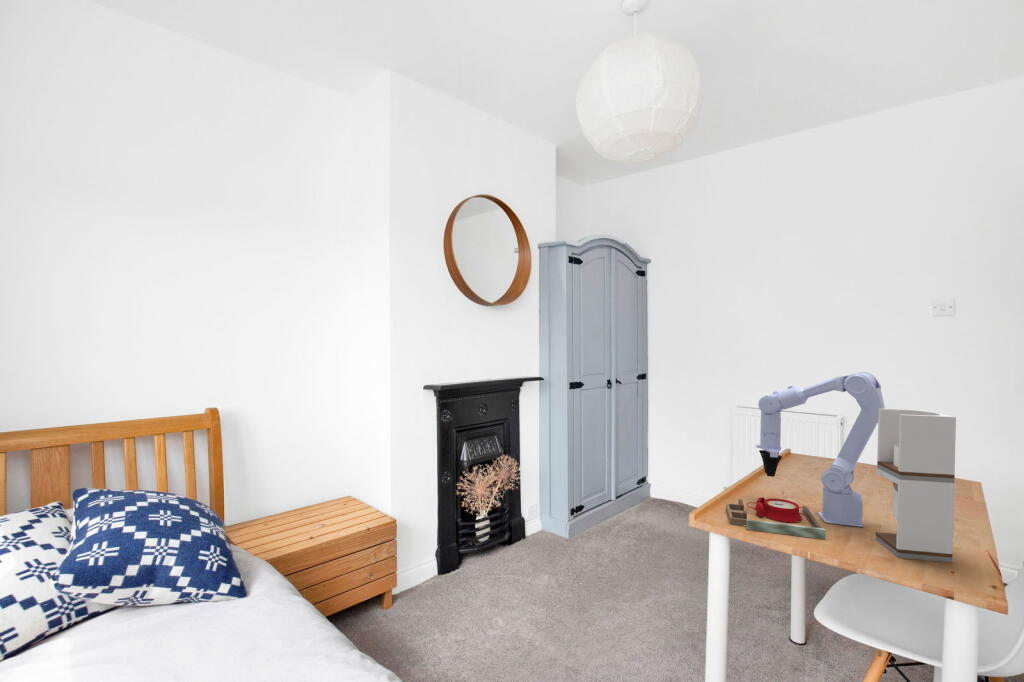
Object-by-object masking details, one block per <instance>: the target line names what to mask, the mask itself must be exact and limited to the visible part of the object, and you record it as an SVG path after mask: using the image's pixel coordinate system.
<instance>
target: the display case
mask: <svg viewBox="0 0 1024 682" xmlns="http://www.w3.org/2000/svg"><path fill="white" fill-rule="evenodd" d="M956 420H957V417H956V416H953V415H948V414H945V413H941V412H937V411H932V410H926V409H923V410H922V409H902V408H899V409H897V408H885V409H879V411H878V423H877V458H876V459H877V462H876V465H877V466H876V467H877V468H876V474H878V475H880V476H881V477H883V478H885V479H888V480H889V481H891V482H892V510H891V511H892V515H893V517H894V518H895V520H896V533H891V532H890V533H889V532H879V531H878V532H875V541H876V540H877V541H876V542H877V543H879V544H880V543H881V544H880V545H882V546H883V547H884V548H886V550H887V551H889V552H890V553H892V554H893V555H895V557H896V558H899V559H909V560H919V561H920V560H921V561H933V562H942V563H943V562H944V563H953V558H954V557H953V555H954V554H953V553H954V551H953V550H954V518H955V517H954V513H955V512H954V511H955V510H954V509H955V474H956V473H955V472H956V471H955V470H956V469H955V468H956V438H957V437H956V431H957V421H956Z"/></svg>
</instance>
